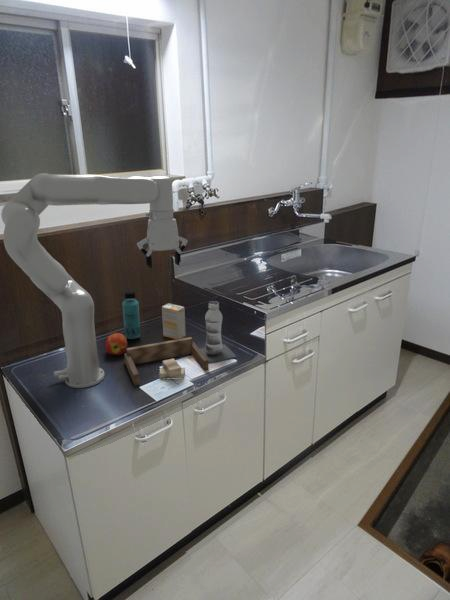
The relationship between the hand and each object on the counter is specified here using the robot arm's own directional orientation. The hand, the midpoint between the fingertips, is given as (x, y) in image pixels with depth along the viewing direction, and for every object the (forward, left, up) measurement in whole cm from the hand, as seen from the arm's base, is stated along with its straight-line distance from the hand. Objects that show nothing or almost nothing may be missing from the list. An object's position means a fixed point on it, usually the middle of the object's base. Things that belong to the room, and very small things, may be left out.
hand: (163, 265), depth 145 cm
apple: (-17, +8, -34) cm, 39 cm away
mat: (+17, -7, -34) cm, 39 cm away
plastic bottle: (+16, -7, -34) cm, 38 cm away
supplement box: (+7, +14, -34) cm, 38 cm away
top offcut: (-3, -16, -32) cm, 36 cm away
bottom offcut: (-3, -16, -35) cm, 38 cm away
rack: (-3, -9, -34) cm, 35 cm away
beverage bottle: (-9, +18, -34) cm, 40 cm away
